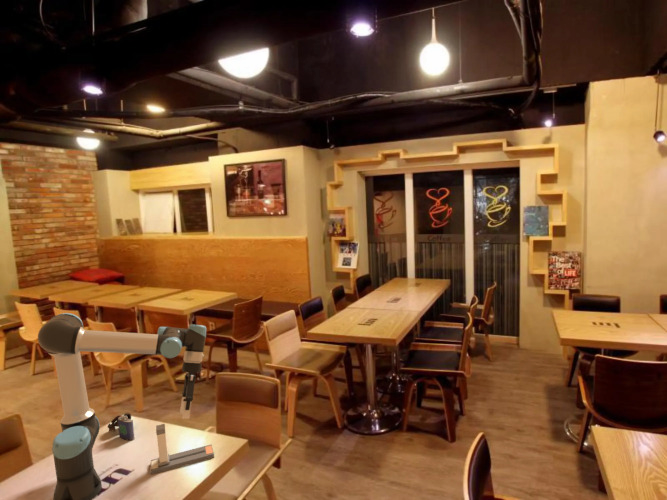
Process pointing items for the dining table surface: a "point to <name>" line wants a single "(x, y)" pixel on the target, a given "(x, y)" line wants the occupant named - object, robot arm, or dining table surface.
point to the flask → (126, 428)
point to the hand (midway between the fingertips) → (184, 416)
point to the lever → (162, 445)
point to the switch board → (183, 458)
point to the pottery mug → (115, 423)
